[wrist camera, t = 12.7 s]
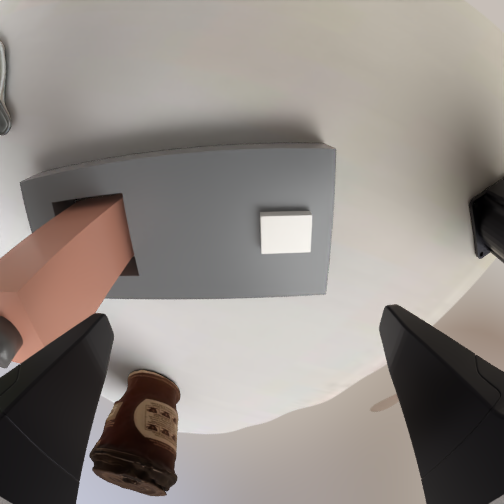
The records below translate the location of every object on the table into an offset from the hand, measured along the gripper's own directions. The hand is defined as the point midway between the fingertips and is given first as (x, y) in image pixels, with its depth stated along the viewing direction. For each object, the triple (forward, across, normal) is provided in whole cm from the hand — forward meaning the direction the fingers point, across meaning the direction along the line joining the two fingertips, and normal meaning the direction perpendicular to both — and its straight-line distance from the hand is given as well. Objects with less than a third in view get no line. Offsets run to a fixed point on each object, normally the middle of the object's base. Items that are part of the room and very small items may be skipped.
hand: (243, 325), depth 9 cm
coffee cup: (+13, +12, +21) cm, 27 cm away
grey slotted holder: (+13, +6, +1) cm, 14 cm away
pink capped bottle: (+13, +11, +1) cm, 17 cm away
